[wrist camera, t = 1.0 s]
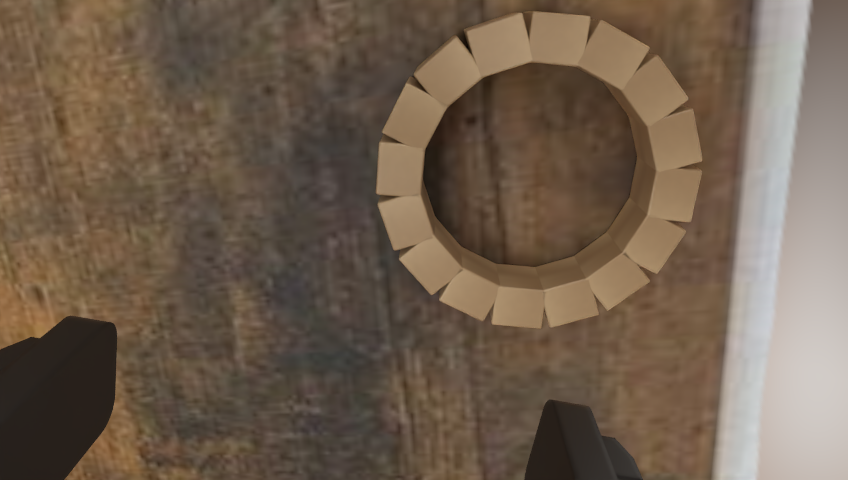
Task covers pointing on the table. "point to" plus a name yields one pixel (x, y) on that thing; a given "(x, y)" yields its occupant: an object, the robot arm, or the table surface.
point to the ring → (609, 254)
